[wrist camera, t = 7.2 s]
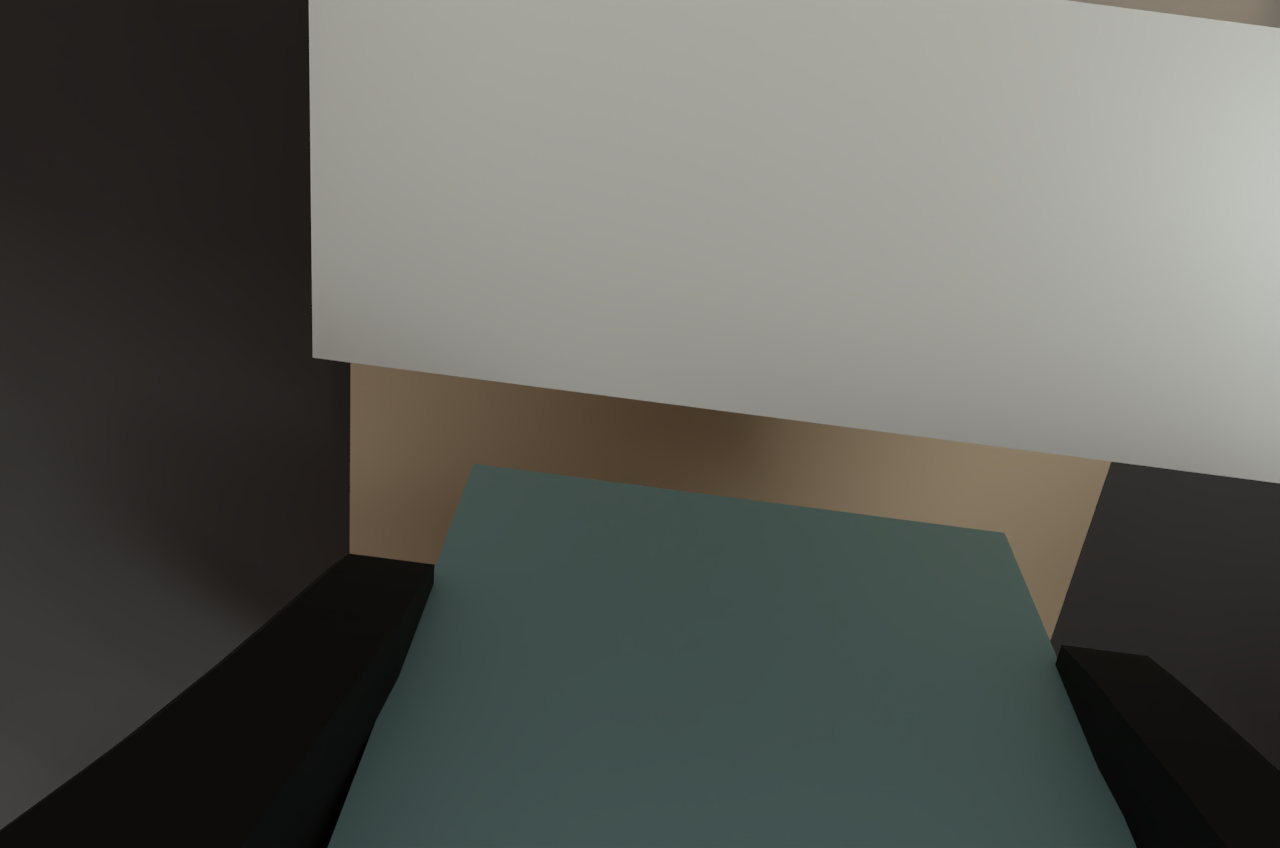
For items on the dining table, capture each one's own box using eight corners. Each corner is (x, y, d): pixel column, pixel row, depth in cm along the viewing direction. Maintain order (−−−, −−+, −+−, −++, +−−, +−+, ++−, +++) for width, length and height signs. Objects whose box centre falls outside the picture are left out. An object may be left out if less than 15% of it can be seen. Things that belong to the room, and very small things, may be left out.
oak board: (1620, -1163, 8) (1689, -1240, 7) (865, 1132, 18) (870, 1171, 18) (384, -1325, 8) (358, -1414, 7) (357, 1066, 18) (347, 1103, 18)
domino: (562, -138, 10) (308, -98, 4) (1074, -71, 10) (1671, 80, 4) (548, 55, 11) (311, 358, 4) (1024, 117, 11) (1458, 505, 4)
